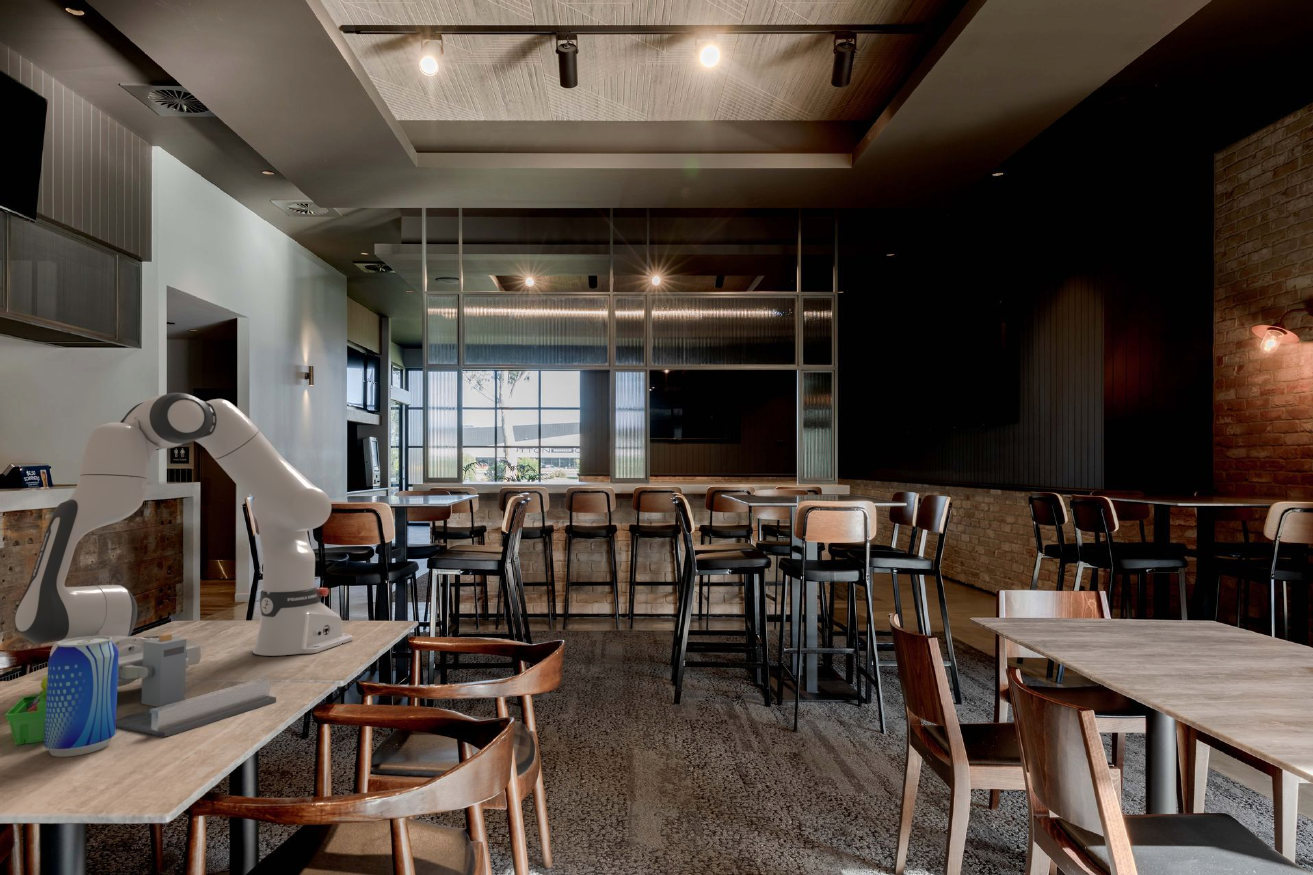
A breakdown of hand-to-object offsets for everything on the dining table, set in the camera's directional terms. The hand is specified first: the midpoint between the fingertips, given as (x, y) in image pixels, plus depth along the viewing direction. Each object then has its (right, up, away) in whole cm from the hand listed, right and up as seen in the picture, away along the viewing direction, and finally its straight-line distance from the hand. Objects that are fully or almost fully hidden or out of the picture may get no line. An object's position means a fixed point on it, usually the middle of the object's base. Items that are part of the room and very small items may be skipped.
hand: (167, 668), depth 133 cm
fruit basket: (-8, -5, -17) cm, 19 cm away
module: (-1, -6, 0) cm, 6 cm away
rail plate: (+9, -6, -7) cm, 13 cm away
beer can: (+2, -5, -23) cm, 24 cm away
